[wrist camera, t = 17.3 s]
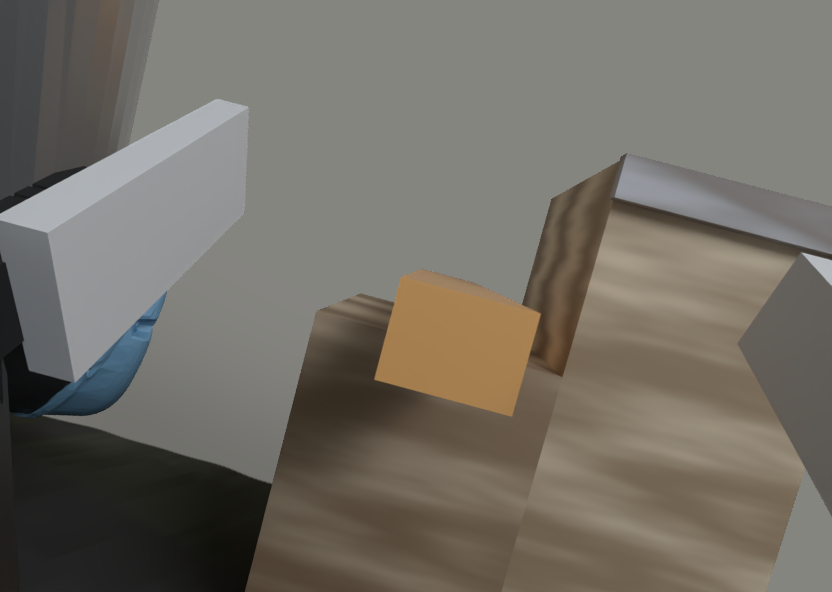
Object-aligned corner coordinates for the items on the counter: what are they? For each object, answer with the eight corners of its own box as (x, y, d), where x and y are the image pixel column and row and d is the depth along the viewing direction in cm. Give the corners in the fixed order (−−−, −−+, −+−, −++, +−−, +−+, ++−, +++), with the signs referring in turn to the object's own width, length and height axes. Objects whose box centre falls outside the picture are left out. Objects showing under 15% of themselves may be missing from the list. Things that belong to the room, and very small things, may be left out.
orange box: (411, 307, 42) (422, 269, 41) (463, 321, 42) (473, 282, 41) (374, 379, 16) (401, 276, 15) (512, 416, 16) (541, 313, 15)
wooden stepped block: (298, 534, 43) (395, 158, 42) (599, 616, 43) (711, 240, 41) (213, 703, 27) (369, 86, 25) (704, 841, 26) (901, 224, 24)
